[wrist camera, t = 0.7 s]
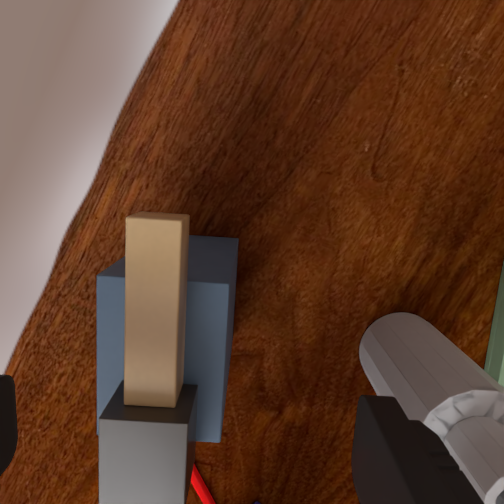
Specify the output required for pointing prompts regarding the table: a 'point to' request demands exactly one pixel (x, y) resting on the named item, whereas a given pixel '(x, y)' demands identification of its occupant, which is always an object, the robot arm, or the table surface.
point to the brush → (151, 372)
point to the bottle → (440, 394)
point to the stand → (196, 329)
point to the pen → (201, 487)
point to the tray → (497, 338)
